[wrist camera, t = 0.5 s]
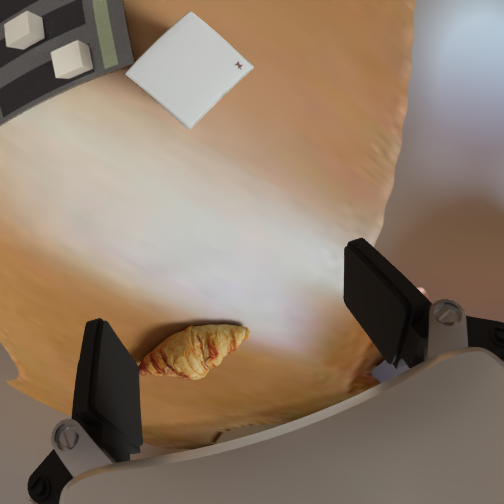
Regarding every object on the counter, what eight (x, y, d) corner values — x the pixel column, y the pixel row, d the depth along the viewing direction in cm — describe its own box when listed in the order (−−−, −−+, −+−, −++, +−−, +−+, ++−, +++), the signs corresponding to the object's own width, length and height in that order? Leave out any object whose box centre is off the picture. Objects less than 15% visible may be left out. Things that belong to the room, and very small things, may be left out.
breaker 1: (20, 29, 18) (4, 24, 14) (42, 17, 19) (27, 10, 15) (23, 49, 20) (6, 46, 16) (44, 38, 20) (29, 32, 16)
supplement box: (183, 34, 27) (193, 6, 16) (227, 75, 31) (258, 68, 20) (137, 79, 28) (121, 73, 18) (183, 118, 32) (190, 132, 22)
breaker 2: (64, 56, 22) (50, 52, 19) (88, 45, 23) (77, 40, 19) (69, 78, 24) (55, 77, 20) (93, 68, 24) (82, 66, 21)
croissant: (237, 299, 53) (241, 311, 45) (258, 348, 54) (265, 366, 46) (131, 341, 51) (119, 358, 43) (156, 385, 52) (148, 407, 44)
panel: (-32, 24, 14) (-38, 23, 13) (115, -53, 17) (114, -58, 16) (-14, 135, 24) (-20, 137, 23) (135, 64, 27) (134, 63, 26)
